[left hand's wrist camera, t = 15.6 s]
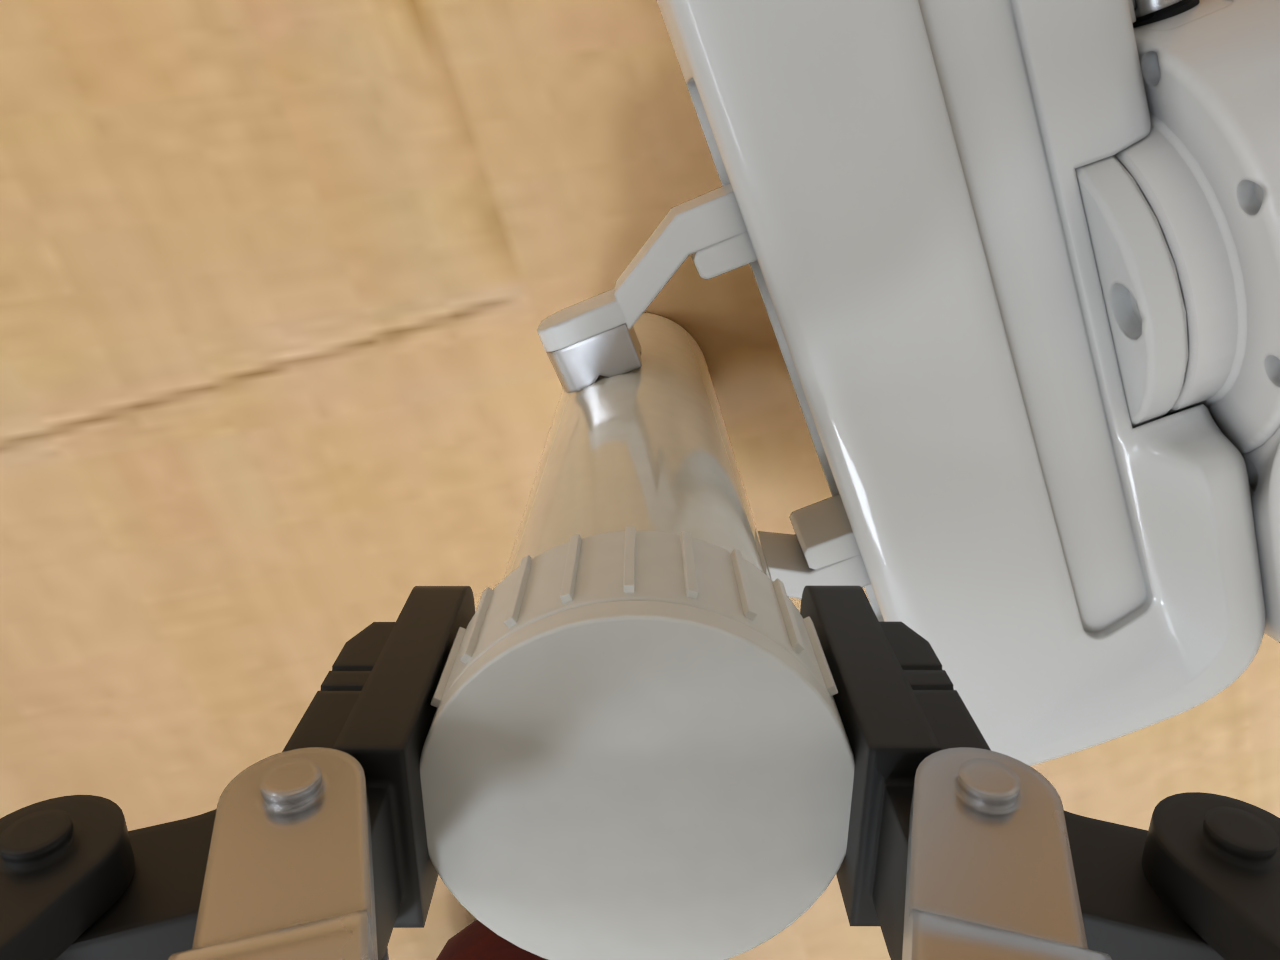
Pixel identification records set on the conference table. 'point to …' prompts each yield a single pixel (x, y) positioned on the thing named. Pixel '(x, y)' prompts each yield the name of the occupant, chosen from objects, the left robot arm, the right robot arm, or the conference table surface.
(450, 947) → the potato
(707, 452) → the grey cylinder
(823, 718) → the lid
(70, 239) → the conference table surface
